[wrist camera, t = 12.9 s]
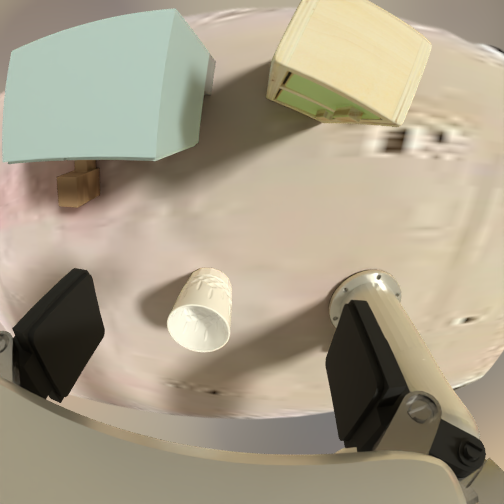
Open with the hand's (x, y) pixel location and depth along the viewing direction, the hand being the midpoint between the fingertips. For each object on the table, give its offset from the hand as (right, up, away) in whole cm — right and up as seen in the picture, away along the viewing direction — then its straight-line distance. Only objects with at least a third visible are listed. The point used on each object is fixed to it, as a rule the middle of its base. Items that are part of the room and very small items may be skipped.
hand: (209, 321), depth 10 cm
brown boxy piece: (-22, +17, +23) cm, 36 cm away
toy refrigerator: (+8, +22, +20) cm, 31 cm away
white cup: (-5, -3, +32) cm, 33 cm away
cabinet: (-12, +22, +21) cm, 32 cm away
